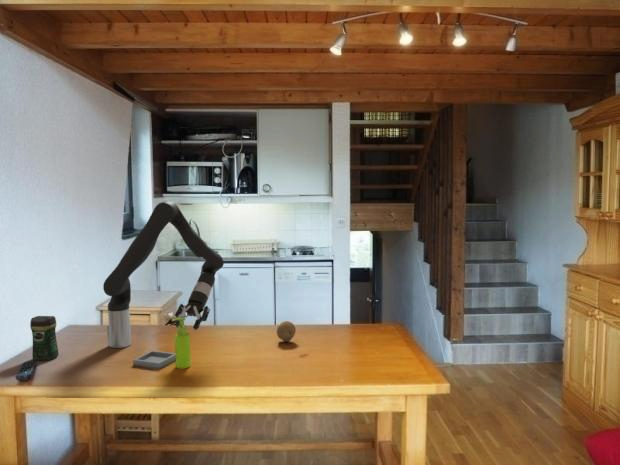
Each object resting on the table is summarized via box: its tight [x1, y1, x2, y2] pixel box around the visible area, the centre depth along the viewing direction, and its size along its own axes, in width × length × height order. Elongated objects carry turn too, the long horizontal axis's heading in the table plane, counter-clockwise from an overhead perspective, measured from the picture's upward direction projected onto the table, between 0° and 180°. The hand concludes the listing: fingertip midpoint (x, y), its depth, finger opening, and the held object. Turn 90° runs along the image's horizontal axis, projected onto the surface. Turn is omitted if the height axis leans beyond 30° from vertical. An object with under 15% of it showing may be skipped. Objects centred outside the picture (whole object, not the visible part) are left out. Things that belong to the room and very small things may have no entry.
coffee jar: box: [29, 315, 59, 361], centre depth 208 cm, size 10×8×19 cm
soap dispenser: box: [170, 317, 192, 369], centre depth 197 cm, size 6×7×20 cm
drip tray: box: [132, 350, 176, 370], centre depth 202 cm, size 13×12×2 cm
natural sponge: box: [276, 320, 297, 343], centre depth 225 cm, size 9×9×10 cm
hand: (185, 328), depth 199 cm, fingers open, 8 cm apart
